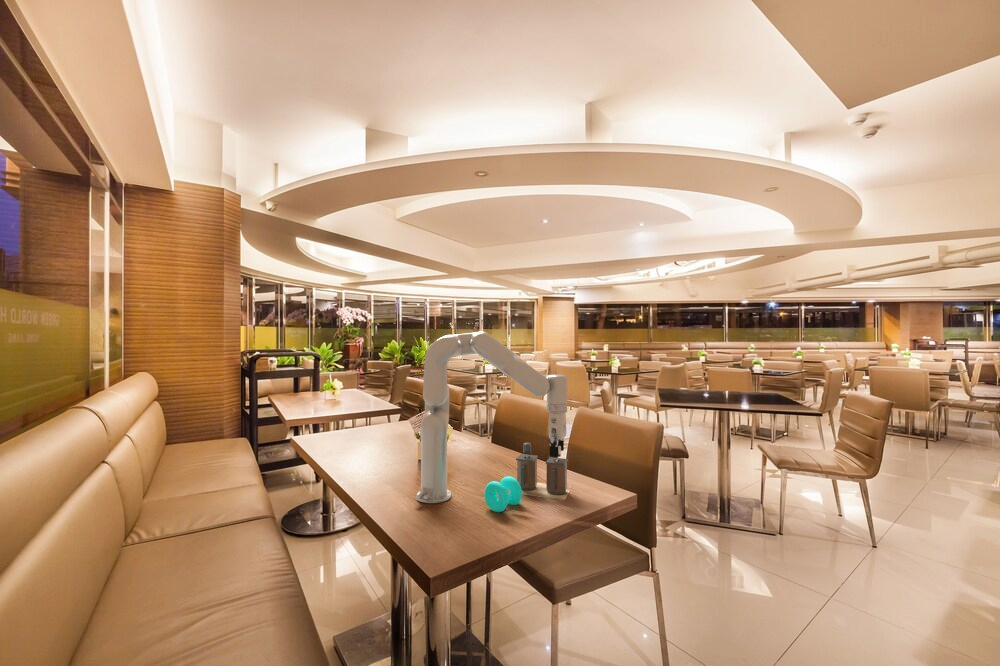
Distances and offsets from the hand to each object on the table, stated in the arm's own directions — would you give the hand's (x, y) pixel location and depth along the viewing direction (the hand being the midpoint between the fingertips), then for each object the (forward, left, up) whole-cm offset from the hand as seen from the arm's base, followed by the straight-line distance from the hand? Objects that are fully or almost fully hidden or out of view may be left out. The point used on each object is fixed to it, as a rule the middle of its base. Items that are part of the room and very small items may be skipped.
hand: (556, 453), depth 154 cm
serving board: (0, +6, -15) cm, 16 cm away
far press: (-1, +11, -14) cm, 18 cm away
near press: (-1, 0, -14) cm, 14 cm away
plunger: (0, 0, -13) cm, 13 cm away
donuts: (-18, +15, -16) cm, 28 cm away
